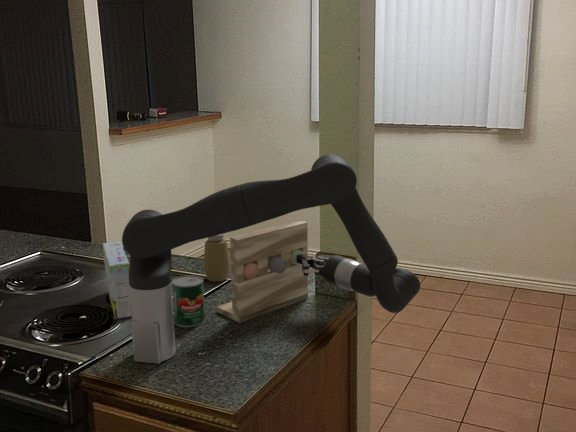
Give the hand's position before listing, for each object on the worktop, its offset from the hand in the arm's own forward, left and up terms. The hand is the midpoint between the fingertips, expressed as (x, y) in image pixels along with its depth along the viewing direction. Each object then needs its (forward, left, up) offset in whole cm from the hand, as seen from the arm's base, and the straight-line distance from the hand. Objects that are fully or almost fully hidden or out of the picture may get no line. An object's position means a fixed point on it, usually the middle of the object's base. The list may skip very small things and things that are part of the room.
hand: (298, 258), depth 170 cm
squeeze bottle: (+14, +28, -13) cm, 34 cm away
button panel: (-3, +9, -13) cm, 16 cm away
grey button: (-6, +5, -2) cm, 8 cm away
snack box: (-10, +48, -13) cm, 51 cm away
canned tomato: (-17, +25, -13) cm, 33 cm away
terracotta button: (-12, +11, -2) cm, 16 cm away
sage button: (+1, +2, -2) cm, 3 cm away
